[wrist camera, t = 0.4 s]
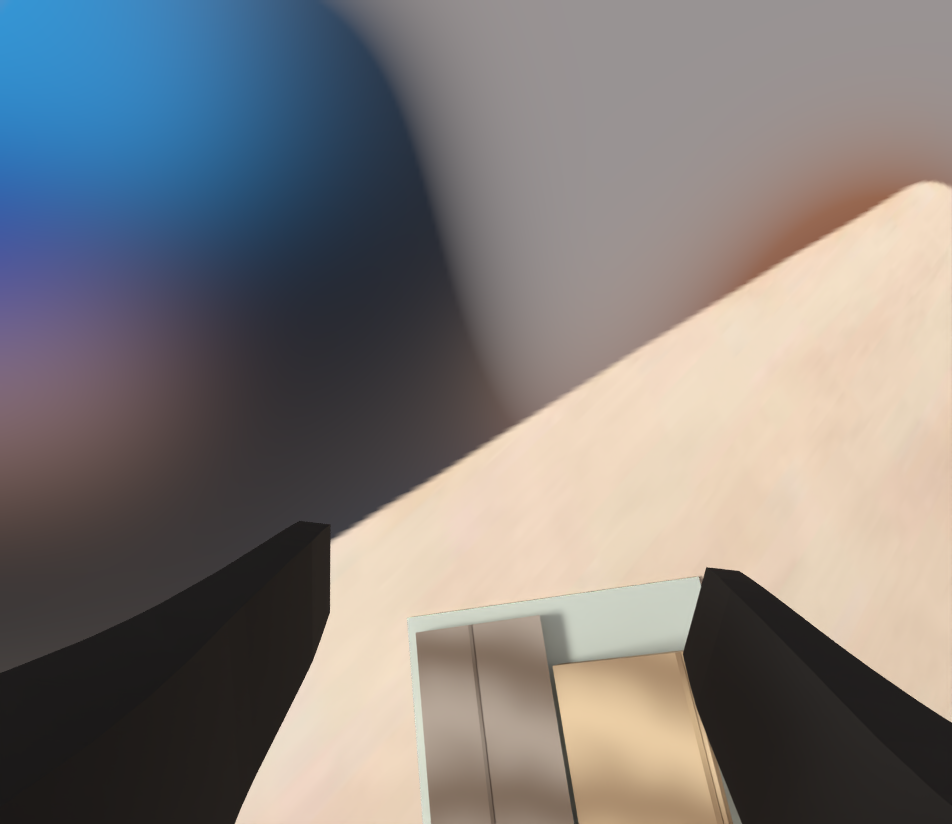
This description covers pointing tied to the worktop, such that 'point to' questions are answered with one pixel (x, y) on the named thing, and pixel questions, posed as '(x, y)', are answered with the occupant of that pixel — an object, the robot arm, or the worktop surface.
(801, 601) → the worktop surface
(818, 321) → the worktop surface
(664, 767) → the plank
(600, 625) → the underlay
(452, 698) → the floor board
